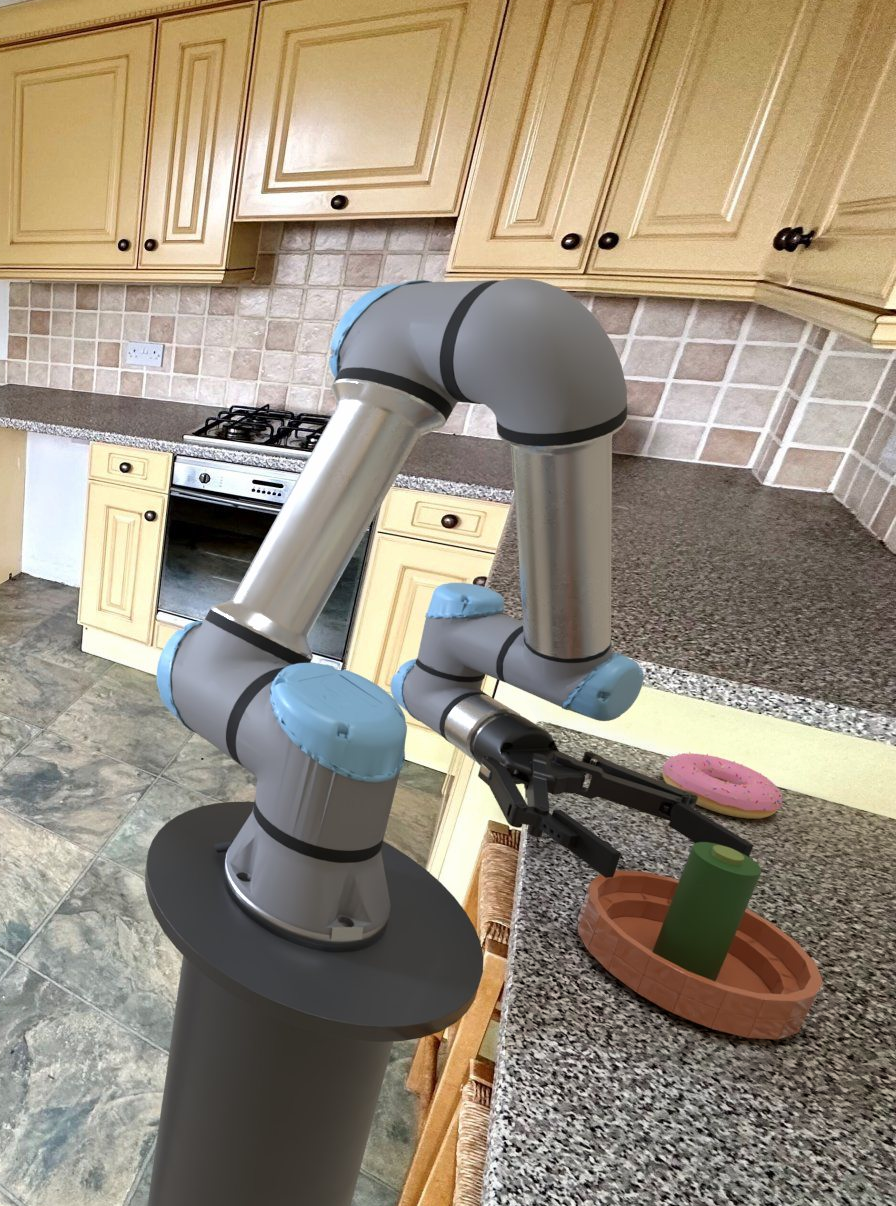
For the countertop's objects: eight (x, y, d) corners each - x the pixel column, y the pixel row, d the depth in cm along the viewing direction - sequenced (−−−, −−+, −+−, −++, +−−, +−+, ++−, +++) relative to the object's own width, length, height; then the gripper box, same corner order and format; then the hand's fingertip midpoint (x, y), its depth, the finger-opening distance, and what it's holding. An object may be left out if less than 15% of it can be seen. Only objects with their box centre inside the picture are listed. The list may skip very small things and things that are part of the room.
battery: (653, 967, 72) (697, 854, 68) (650, 939, 75) (692, 829, 71) (719, 992, 69) (768, 877, 65) (713, 962, 72) (759, 850, 68)
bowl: (574, 980, 71) (589, 937, 69) (576, 888, 82) (589, 849, 81) (818, 1082, 62) (842, 1034, 60) (781, 962, 73) (800, 920, 72)
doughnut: (656, 798, 98) (666, 770, 97) (658, 763, 106) (668, 737, 104) (779, 837, 91) (792, 807, 90) (772, 797, 99) (784, 768, 97)
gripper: (586, 762, 94) (784, 886, 74) (395, 772, 92) (546, 902, 72) (604, 708, 92) (813, 820, 72) (408, 716, 89) (568, 834, 69)
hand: (680, 861), depth 72 cm, fingers open, 13 cm apart
